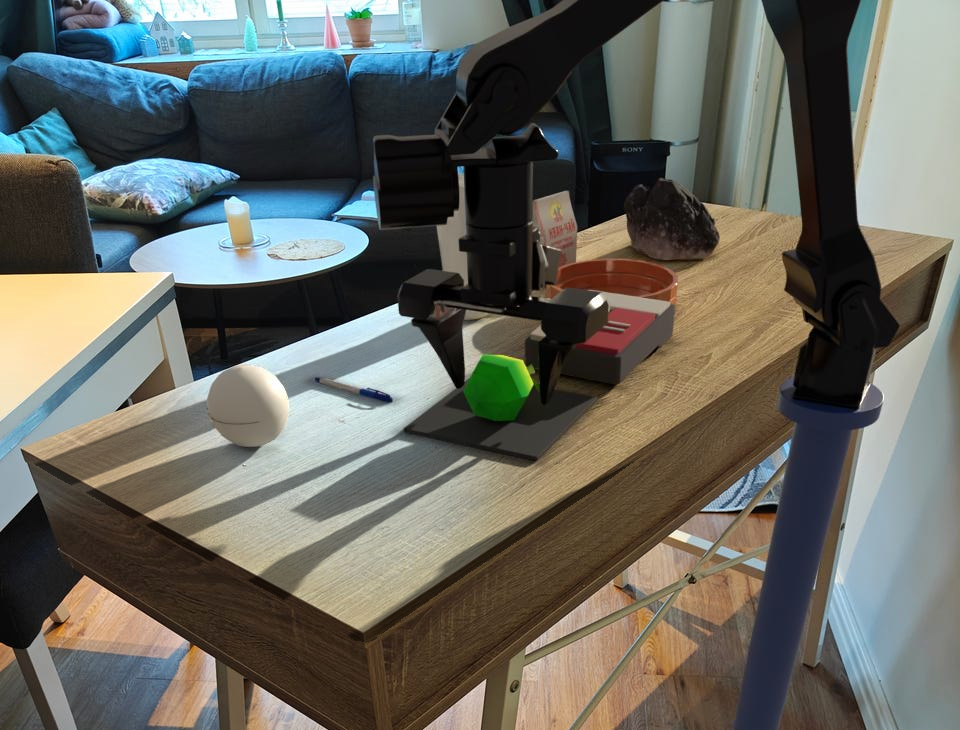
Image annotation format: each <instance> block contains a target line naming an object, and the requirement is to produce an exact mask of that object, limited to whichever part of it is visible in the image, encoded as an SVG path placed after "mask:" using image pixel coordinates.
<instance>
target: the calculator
mask: <svg viewBox="0 0 960 730" xmlns="http://www.w3.org/2000/svg"><path fill="white" fill-rule="evenodd" d="M590 291H595V290H590ZM598 292H601V291H598ZM602 293H603V295H604V297H605V298H606V300H607V302H608V305H609V307H608V323H607V324H606V325H605V326H604V327H603V328H601V329H600V330H599V331H598V332H597V333H596V334H595V335H593V336H592V337H591V338H590V339H589V340H588V341H586V342H585V343H579V344H578V345H576V346H575V347H574V348H573V349H572V350H570V352H569V354H568V356H567V358H566V360H565V363H564V365H563V367H562V370H561V373H560V375H565V376H569V377H575V378H580V379H584V380H591V381H595V382H600V383H605V384H609V385H610V384H611V385H619V384H620V383H622V381H624V380H625V378H627V377H628V376H629V375H630V374H631V373H632V372H633V371H634V370H635V369H636V368H637V367H638V366H639V365H640V364H641V363H642V362H643V361H644V360H645V359H646V358H647V357H648V356H649V355H650V354H651V353H652V352H653V351H654V350H655V349H656V348H659V349H660V348H662V347H663V346H664V345H665V344H667V342H668V341H669V340H670V339H671V338H672V337H673V335H674V334H673V333H674V322H675V314H676V313H675V312H676V310H675V309H676V305H674V304H670V302H667V301H660V300H654V299H647V298H641V297H634V296H627V295H621V294H614V293H608V292H602ZM545 336H546V335H545V334H544V332H543V331H542V330H541V325H539V326H538V327H537V328H535V329H534V330H533V331H531V332H530V334H529V335H528V336H527V337H526V338H525V339H524V364H525V366H526V368H527V367H528V366H530V365H531V364H532V366H533V368H534V370H539V357H538V342H539V341H540V340H541V339H542V338H544V337H545Z"/></svg>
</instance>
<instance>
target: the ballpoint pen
mask: <svg viewBox="0 0 960 730" xmlns="http://www.w3.org/2000/svg"><path fill="white" fill-rule="evenodd" d="M314 381H315V382H317V383H319V384H321V385H325V386H329V387H332V388H336V389H339V390H343V391H346V392H350V393H353V394H357V395H360V396H362V397H367V398H370V399H374V400H377V401H380V402H384V403H388V404H389V403H393V401H394V398H393V397H391V394H388V393H386V392H384V391H381V390H378V389H374V388H370V387H367V388H360V387H357V386H355V385H354V386H353V385H350V384H347V383H342V382H339V381H335V380H332V379H329V378H324V377H317V376H316V377H314Z"/></svg>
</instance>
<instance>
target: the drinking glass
mask: <svg viewBox="0 0 960 730" xmlns="http://www.w3.org/2000/svg"><path fill="white" fill-rule="evenodd" d="M458 179H459V197H460V200H459V210H458V211H454V217H448V220H447V224H446V225H439V226H436V233H437V234H436V235H437V240H438V247H439V253H440V254H439V255H440V262H441V271H448V272H455V273H459V274H460V276H461V277H462V278H463V280H464V286H466V285H467V284H468V272H467V252H461V251H459V238H461V237H463V236H465V235H466V220H465V196H464V172H462V173H458ZM487 315H489V313H484V312H478V311H471V310H466V313H465V317H464V321H471V320H479V319H482V318H484V317H486V316H487Z"/></svg>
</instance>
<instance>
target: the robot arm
mask: <svg viewBox="0 0 960 730" xmlns="http://www.w3.org/2000/svg"><path fill="white" fill-rule="evenodd" d="M663 1H664V0H561V1H560V2H559V3H557V4H555V6H553V7H552V8H550V9H548V10H546V11H544V12H542V13H539V14H537V15H536V16H533V17H531V18H529V19H526V20H523V21H520V22H518V23H516V24H513V25H511V26H509V27H507V28H504V29H502V30H500V31H499V32H496V33H494V34H493V35H491V36H488V37H486V38H485V39H483V40H481V41H478V42H477V43H475V44H474V45H472V46H471V47H469V49H468V50H467V51H466V52H465V53H464V54H463V55H462V56H461V59H460V61H459V63H458V66H457V72H456V76H455V86H456V92H455V93H454V95H453V97H452V98H451V100H450V102H449V104H448V105H447V107H446V109H445V111H444V112H443V114H442V116H441V117H440V120H439V121H438V123H437V125H436V127H435V128H434V134H421V135H419V134H418V135H409V136H408V135H406V136H405V135H404V136H396V135H392V134H380V135H374V136H373V138H372V145H373V166H374V167H373V168H374V175H372V183H373V193H374V202H375V203H374V204H375V210H376V217H377V224H378V228H379V231H388V230H400V229H402V230H403V229H412V228H425V227H437V226H439V225H446V224H447V220H448V217H454V211H458V210H459V200H460V197H459V179H458V174H459V167H460V168H461V167H463V170H462V171H463V173H464V196H465V220H466V235H465V236H463V237H461V238H459V251H461V252H467V272H468V284H467V285H466V286H464V280H463V278H462V277H461V276H460V274H459V273H455V272H448V271H443V270H439V269H433V268H427V269H425V270H423V271H422V272H419V273H418V274H416V275H414V276H413V277H411V278H409V279H407V280H405V281H404V282H402V283H401V285H400V287H399V289H398V293H397V296H396V297H397V306H398V307H397V308H398V309H397V310H398V314H399V316H400V317H405V318H411V319H410V322H411V326H412V327H414V328H418V329H419V330H420V332H421V333H422V334H423V336H424V337H425V339H426V340H427V342H428V343H429V344H430V346H431V347H432V350H434V352H435V354H436V355H437V357H438V359H439V360H440V363H441V364H442V366H443V367H444V369H445V371H446V372H447V375H448V376H449V378H450V380H451V382H452V384H453V386H454V387H455V389H456V388H458V389H460V388H462V387H463V386H464V383H465V381H466V363H465V362H466V361H465V350H464V335H463V325H464V321H465V320H464V317H465V313H466V310H471V311H478V312H484V313H488V314H491V315H498V316H505V317H512V318H519V319H525V320H531V321H538V322H540V326H541V330H542V331H543V332H544V334H545V335H546V336H545V337H544V338H542V339H541V340H540V341H539V342H538V357H539V369H538V384H539V391H540V398H541V403H542V405H546V404H547V403H549V401H550V399H551V397H552V394H553V391H554V389H556V387H557V383H558V380H559V378H560V376H561V374H560V373H561V370H562V367H563V365H564V363H565V360H566V358H567V356H568V354H569V352H570V350H572V349H573V348H574V347H575V346H576V345H578V344H579V343H585V342H586V341H588V340H589V339H590V338H591V337H592V336H593V335H595V334H596V333H597V332H598V331H599V330H600V329H601V328H603V327H604V326H605V325H606V324H607V323H608V307H609V305H608V302H607V300H606V298H605V297H604V295H603V293H602V292H598V291H590V290H583V289H575V288H568V287H566V288H565V289H564V290H562V291H561V292H560V293H558V294H557V295H556V296H554V297H553V298H551V299H549V298H546V297H541V296H534V295H533V292H534V291H538V292H540V291H542V290H543V289H544V288H545V287H546V286H547V285H553V286H556V282H557V276H558V269H559V262H560V256H561V250H559V249H556V248H552V247H549V246H544V245H541V243H540V232H539V227H533V201H534V162H546V161H555V160H557V159H558V158H559V151H558V150H557V148H555V147H554V146H553V145H552V144H551V143H549V141H548V140H547V139H546V137H545V136H544V134H543V131H542V129H541V127H540V126H538V125H537V124H536V123H535V122H531V121H532V120H533V119H534V118H535V117H536V116H537V115H538V114H539V112H541V110H542V109H544V107H546V105H548V103H549V102H550V101H551V100H552V99H553V98H554V97H555V96H556V95H557V93H558V92H559V91H560V89H561V88H562V86H564V84H565V82H566V81H567V79H568V78H569V77H570V76H571V74H572V73H573V71H575V69H577V67H578V66H579V65H580V64H581V63H582V62H583V61H584V60H585V59H586V58H588V57H589V56H591V55H592V54H593V53H594V52H596V51H597V50H599V49H601V47H603V46H604V45H606V44H607V43H608V42H610V41H611V40H612V39H614V38H615V37H616V36H617V35H619V34H620V33H622V32H623V31H624V30H626V29H627V28H629V27H630V26H631V25H633V24H634V23H635V22H637V21H638V20H639V19H640V18H642V17H643V16H645V15H646V14H647V13H649V12H650V11H651V10H653V9H654V8H655V7H657V6H658V5H659V4H661V3H662V2H663ZM861 2H862V0H761V4H762V7H763V11H764V14H765V19H766V21H767V23H768V25H769V28H770V29H771V31H772V33H773V36H774V38H775V40H776V42H777V45H778V46H779V48H780V50H781V52H782V54H783V57H784V61H785V68H786V78H787V87H788V88H787V89H788V98H789V108H790V117H791V118H790V119H791V128H792V138H793V148H794V157H795V166H796V177H797V186H798V187H797V188H798V198H799V207H800V217H801V233H800V236H799V238H798V240H797V244H796V247H795V248H793V249H788V250H784V251H783V252H782V253H781V260H782V263H783V267H784V270H785V276H786V277H785V284H784V289H783V291H784V292H785V293H786V294H788V295H789V296H790V297H792V299H793V301H794V302H795V304H796V305H798V307H800V308H801V313H802V319H803V321H804V322H805V323H807V324H809V325H811V326H812V328H811V330H810V331H809V333H808V335H807V339H805V340H804V341H803V343H802V345H801V346H800V348H799V350H798V356H797V361H796V367H795V371H794V376H793V377H794V381H793V386H794V387H797V388H796V390H795V392H794V393H793V399H796V400H801V401H807V402H813V403H819V404H825V405H831V406H837V407H843V408H849V409H859V408H860V406H861V404H862V402H863V400H864V398H865V396H866V394H867V391H868V389H869V387H870V383H871V382H870V381H869V380H870V377H871V373H872V369H873V366H874V361H875V357H876V352H877V349H881V348H888V347H889V346H890V344H891V343H892V341H893V339H894V337H895V336H896V334H897V333H898V331H899V329H900V323H899V322H898V320H897V319H896V318H895V317H894V315H893V314H892V313H891V311H890V310H889V308H888V307H886V305H885V304H884V302H883V301H882V300H881V298H882V283H881V278H880V275H879V274H880V273H879V271H878V266H877V262H876V258H875V256H874V254H873V251H872V249H871V247H870V244H869V242H868V241H867V238H866V236H865V234H864V232H863V230H862V229H861V226H860V224H859V219H858V218H859V217H858V204H857V202H858V201H857V188H856V187H857V186H856V170H855V155H854V152H855V151H854V139H853V138H854V137H853V123H852V106H851V105H852V104H851V103H852V102H851V90H850V89H851V88H850V87H851V86H850V74H849V57H848V46H849V45H848V44H849V38H850V35H851V32H852V29H853V26H854V23H855V20H856V18H857V15H858V12H859V8H860V5H861ZM530 122H531V123H530ZM529 123H530V124H529ZM528 124H529V125H528ZM527 125H528V127H527V128H526V129H525V130H524V131H523V133H521V134H520V135H513V134H515V133H516V132H519V131H520V130H522V129H524V127H526V126H527ZM497 135H499V136H497ZM500 135H501V136H500ZM509 135H510V136H509ZM485 145H486V146H485ZM484 146H485V148H483V147H484ZM545 284H546V285H545Z"/></svg>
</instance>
